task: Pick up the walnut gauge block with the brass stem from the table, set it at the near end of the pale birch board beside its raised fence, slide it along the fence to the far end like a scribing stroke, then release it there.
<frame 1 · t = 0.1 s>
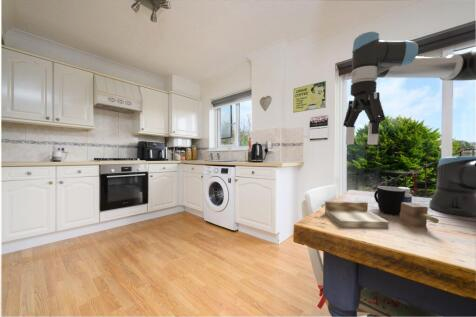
hand: (359, 144, 71), 28 cm above the table, fingers open, 13 cm apart
pill bottle: (402, 210, 85), on the table
gauge: (412, 224, 71), on the table
mug: (386, 211, 84), on the table
board: (353, 219, 74), on the table
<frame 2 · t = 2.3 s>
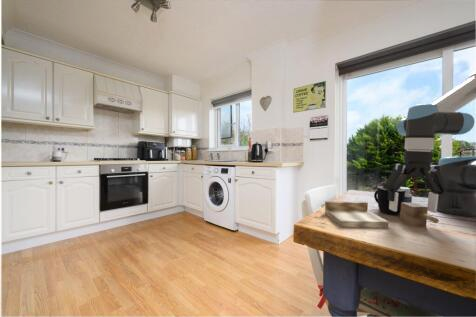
hand: (412, 211, 71), 5 cm above the table, fingers open, 13 cm apart
nothing on the table moved.
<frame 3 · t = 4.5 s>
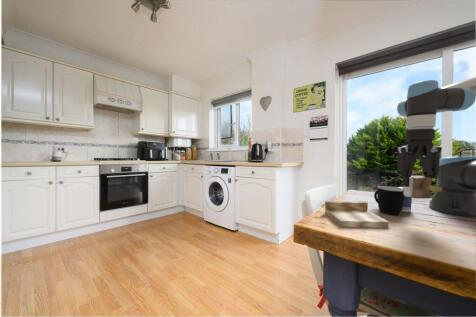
hand: (416, 195, 70), 10 cm above the table, fingers closed on gauge, 5 cm apart
gauge: (416, 196, 70), point 10 cm above the table, touching gripper
everything else where it was.
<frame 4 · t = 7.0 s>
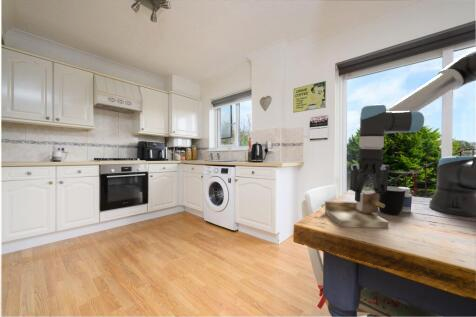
hand: (366, 209, 76), 3 cm above the table, fingers closed on gauge, 5 cm apart
gauge: (366, 210, 76), point 3 cm above the table, touching gripper
everything else where it was.
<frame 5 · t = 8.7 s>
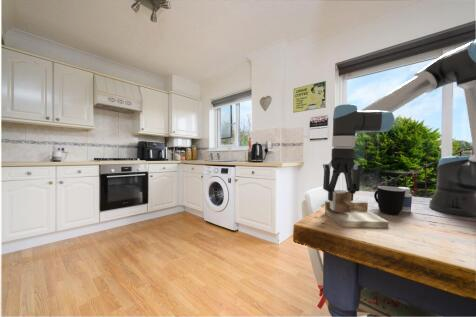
hand: (339, 209, 76), 3 cm above the table, fingers closed on gauge, 5 cm apart
gauge: (339, 209, 76), point 3 cm above the table, touching gripper
everything else where it was.
when the fingers open (3 cm above the table, at t = 9.9 s): gauge stays where it is, resting on board.
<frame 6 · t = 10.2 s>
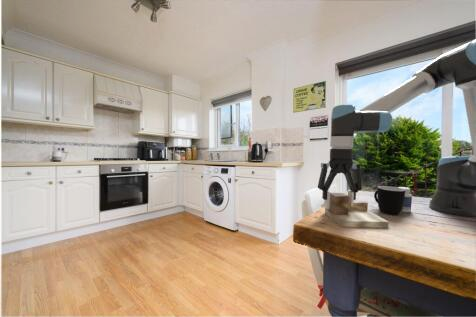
hand: (338, 208, 76), 4 cm above the table, fingers open, 8 cm apart
gauge: (338, 212, 76), point 2 cm above the table, touching board
everything else where it was.
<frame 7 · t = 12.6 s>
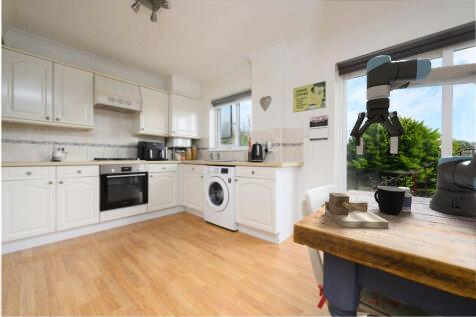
hand: (376, 154, 79), 24 cm above the table, fingers open, 13 cm apart
nothing on the table moved.
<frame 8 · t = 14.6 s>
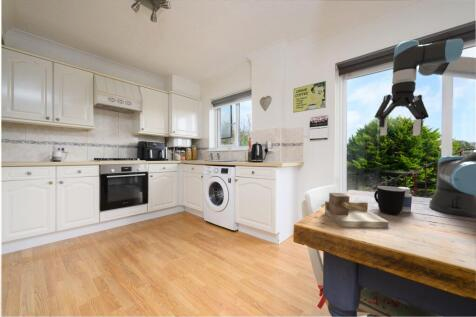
hand: (399, 135, 83), 32 cm above the table, fingers open, 13 cm apart
nothing on the table moved.
at the end: gauge 0.1 cm from the target spot on the board, point 2.0 cm above the board's base; gauge tilted 0°; the gripper is holding nothing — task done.
